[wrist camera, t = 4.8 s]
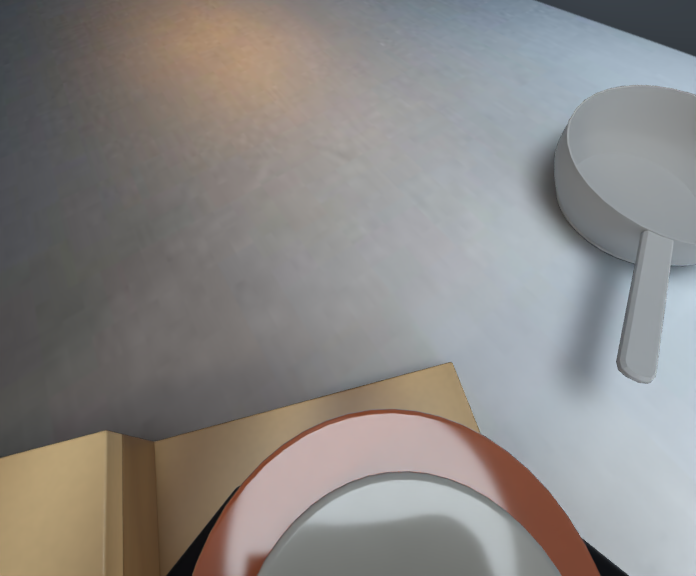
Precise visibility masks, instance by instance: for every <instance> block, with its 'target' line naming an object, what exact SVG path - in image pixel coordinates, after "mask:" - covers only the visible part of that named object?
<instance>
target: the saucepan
mask: <svg viewBox="0 0 696 576" xmlns="http://www.w3.org/2000/svg"><path fill="white" fill-rule="evenodd" d="M554 178H555V183H556V196H557V200H558V204H559V206H560V208H561V210H562V213H563V214H564V216H565V217H566V219H567V220H568V222H569V223H570V224H571V226H572V227H573V228H574V229H575V230H576V231H577V232H578V233H579V234H580V235H581V236H582V237H584V238H585V239H586V240H587V241H588V242H590V243H591V244H593V245H594V246H596V247H597V248H599V249H600V250H602V251H604V252H606V253H608V254H610V255H612V256H614V257H616V258H619V259H622V260H625V261H628V262H631V263H635V266H634V271H633V276H632V282H631V287H630V292H629V297H628V303H627V308H626V313H625V318H624V323H623V329H622V334H621V339H620V344H619V349H618V355H617V360H616V363H617V367H618V370H619V371H620V372H621V373H622V374H623V375H625V376H626V377H627V378H630V379H632V380H634V381H636V382H638V383H646V384H648V383H651V382H652V381H653V380H654V378H655V377H656V372H657V364H658V357H659V349H660V342H661V334H662V326H663V319H664V311H665V304H666V296H667V289H668V281H669V274H670V266H671V265H673V266H686V265H696V95H695V94H692V93H688V92H684V91H680V90H677V89H672V88H666V87H660V86H649V85H630V86H620V87H615V88H610V89H606V90H604V91H601V92H598V93H596V94H594V95H592V96H591V97H589V98H587V99H586V100H584V101H583V102H582V103H581V104H580V105H579V106H578V107H577V108H576V109H575V111H574V113H573V114H572V116H571V118H570V119H569V122H568V124H567V126H566V127H565V129H564V131H563V133H562V135H561V137H560V140H559V142H558V145H557V148H556V152H555V162H554Z"/></svg>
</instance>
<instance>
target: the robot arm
mask: <svg viewBox="0 0 696 576" xmlns="http://www.w3.org/2000/svg"><path fill="white" fill-rule="evenodd" d="M240 486H241V485H240ZM240 486H238V487H237V488H236V489H235V490H234V491H233V492H232V493H231V495H230V496H229V497H228V498H227V500H226V501H225V502H224V503H223V505H222V506H221V507H220V508H219V510H218V511H217V512H216V513H215V515H214V516H213V517H212V518H211V520H210V521H209V522H208V524H207V525H206V526H205V527H204V529H203V530H202V531H201V532H200V534H199V535H198V536H197V537H196V539H195V540H194V541H193V542H192V544H191V545H190V546H189V547H188V549H187V550H186V551H185V552H184V554H183V555H182V556H181V557H180V559H179V560H178V561H177V562H176V564H175V565H174V566H173V567H172V569H171V570H170V571H169V572H168V574H167V575H166V576H192V574H193V571H194V568H195V565H196V562H197V560H198V558H199V556H200V553H201V551H202V549H203V547H204V544H205V542H206V540H207V538H208V536H209V533H210V531H211V530H212V528H213V526H214V525H215V523H216V521H217V519H218V518H219V516H220V514H221V513H222V511H223V509H224V508H225V506H226V504H227V503H228V502H229V500H230V499H231V498H232V496H233V495H234V494H235V492H236V491H237V490H238V488H239V487H240ZM582 540H583V541H584V543H585V545H586V547H587V549H588V551H589V553H590V555H591V557H592V559H593V561H594V563H595V565H596V567H597V569H598V571H599V573H600V575H601V576H629V575H628V574H626V573H625V572H624V571H622V570H621V569H620V568H619V567H617V566H616V565H615V564H614V563H612V562H611V561H610V560H609V559H607V558H606V557H605V556H604V555H602V554H601V553H600V552H599V551H597V550H596V549H595V548H594V547H592V546H591V545H590V544H589V543H587V542H586V541H585V540H584V539H582Z"/></svg>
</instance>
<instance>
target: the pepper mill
mask: <svg viewBox="0 0 696 576" xmlns="http://www.w3.org/2000/svg"><path fill="white" fill-rule="evenodd" d="M192 576H601V575H600V573H599V571H598V569H597V567H596V565H595V563H594V561H593V559H592V557H591V555H590V553H589V551H588V549H587V547H586V545H585V543H584V541H583V540H582V538H581V537H580V535H579V533H578V532H577V530H576V529H575V527H574V525H573V524H572V522H571V520H570V519H569V517H568V516H567V514H566V513H565V512H564V510H563V509H562V508H561V506H560V505H559V504H558V503H557V501H556V500H555V499H554V497H553V496H552V495H551V493H550V492H549V491H548V490H547V489H546V488H545V487H544V485H543V484H542V483H541V482H540V481H539V480H538V479H537V478H536V477H535V476H534V475H533V474H532V473H531V472H530V471H529V470H528V469H527V468H526V467H525V466H524V465H523V464H522V463H520V462H519V461H518V460H517V459H516V458H515V457H513V456H512V455H511V454H510V453H509V452H508V451H506V450H505V449H503V448H502V447H500V446H499V445H497V444H496V443H494V442H493V441H491V440H490V439H488V438H487V437H486V436H484V435H482V434H480V433H478V432H476V431H474V430H472V429H470V428H468V427H466V426H464V425H462V424H460V423H457V422H454V421H452V420H449V419H446V418H443V417H441V416H437V415H433V414H428V413H424V412H420V411H413V410H403V409H371V410H365V411H359V412H354V413H348V414H345V415H342V416H339V417H335V418H332V419H329V420H326V421H324V422H322V423H320V424H317V425H315V426H313V427H311V428H309V429H307V430H305V431H303V432H301V433H300V434H298V435H297V436H295V437H294V438H292V439H291V440H289V441H287V442H286V443H284V444H283V445H281V446H280V447H279V448H278V449H277V450H276V451H274V452H273V453H272V454H271V455H270V456H268V457H267V458H266V459H265V460H264V461H262V462H261V463H260V465H259V466H258V467H257V468H256V469H255V470H254V471H253V472H252V473H251V474H250V475H249V476H248V477H247V478H246V479H245V481H244V482H243V483H242V484H241V486H240V487H239V488H238V490H237V491H236V492H235V494H234V495H233V496H232V498H231V499H230V500H229V502H228V503H227V504H226V506H225V508H224V509H223V511H222V513H221V514H220V516H219V518H218V519H217V521H216V523H215V525H214V526H213V528H212V530H211V531H210V533H209V536H208V538H207V540H206V542H205V544H204V547H203V549H202V551H201V553H200V556H199V558H198V560H197V562H196V565H195V568H194V571H193V574H192Z"/></svg>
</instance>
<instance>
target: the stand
mask: <svg viewBox="0 0 696 576" xmlns="http://www.w3.org/2000/svg"><path fill="white" fill-rule="evenodd" d="M371 409H403V410H413V411H420V412H424V413H428V414H433V415H437V416H441V417H443V418H446V419H449V420H452V421H454V422H457V423H460V424H462V425H464V426H466V427H468V428H470V429H472V430H474V431H476V432H478V433H480V431H479V428H478V426H477V423H476V421H475V418H474V416H473V413H472V411H471V408H470V406H469V403H468V401H467V398H466V396H465V393H464V391H463V388H462V386H461V383H460V381H459V378H458V376H457V373H456V371H455V368H454V366H453V363H452V362H449V363H445V364H441V365H438V366H434V367H430V368H426V369H423V370H419V371H415V372H412V373H408V374H404V375H400V376H397V377H393V378H389V379H386V380H382V381H378V382H374V383H371V384H367V385H363V386H359V387H356V388H352V389H348V390H345V391H341V392H337V393H333V394H330V395H326V396H322V397H319V398H315V399H311V400H307V401H304V402H300V403H296V404H293V405H289V406H285V407H281V408H278V409H274V410H270V411H267V412H263V413H259V414H255V415H252V416H248V417H244V418H241V419H237V420H233V421H229V422H226V423H222V424H218V425H215V426H211V427H207V428H203V429H200V430H196V431H192V432H188V433H185V434H181V435H177V436H174V437H170V438H166V439H162V440H159V441H155V442H153V441H149V440H145V439H141V438H137V437H132V436H128V435H124V434H120V433H116V432H111V431H107V430H105V431H101V432H97V433H93V434H90V435H86V436H82V437H78V438H74V439H70V440H67V441H63V442H59V443H55V444H51V445H47V446H44V447H40V448H36V449H32V450H28V451H24V452H21V453H17V454H13V455H9V456H5V457H1V458H0V576H166V575H167V574H168V572H169V571H170V570H171V569H172V567H173V566H174V565H175V564H176V562H177V561H178V560H179V559H180V557H181V556H182V555H183V554H184V552H185V551H186V550H187V549H188V547H189V546H190V545H191V544H192V542H193V541H194V540H195V539H196V537H197V536H198V535H199V534H200V532H201V531H202V530H203V529H204V527H205V526H206V525H207V524H208V522H209V521H210V520H211V518H212V517H213V516H214V515H215V513H216V512H217V511H218V510H219V508H220V507H221V506H222V505H223V503H224V502H225V501H226V500H227V498H228V497H229V496H230V495H231V493H232V492H233V491H234V490H235V489H236V488H237V487H238V486H240V485H241V484H242V483H243V482H244V481H245V479H246V478H247V477H248V476H249V475H250V474H251V473H252V472H253V471H254V470H255V469H256V468H257V467H258V466H259V465H260V463H261V462H262V461H264V460H265V459H266V458H267V457H268V456H270V455H271V454H272V453H273V452H274V451H276V450H277V449H278V448H279V447H280V446H281V445H283V444H284V443H286V442H287V441H289V440H291V439H292V438H294V437H295V436H297V435H298V434H300V433H301V432H303V431H305V430H307V429H309V428H311V427H313V426H315V425H317V424H320V423H322V422H324V421H326V420H329V419H332V418H335V417H339V416H342V415H345V414H348V413H354V412H359V411H365V410H371ZM480 434H481V433H480Z"/></svg>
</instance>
